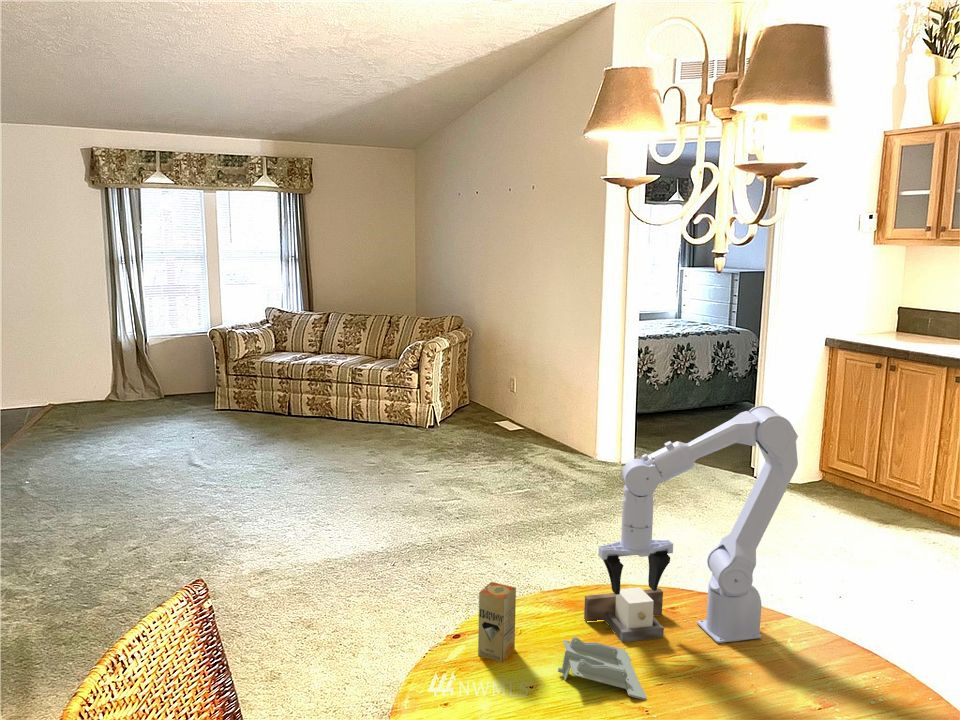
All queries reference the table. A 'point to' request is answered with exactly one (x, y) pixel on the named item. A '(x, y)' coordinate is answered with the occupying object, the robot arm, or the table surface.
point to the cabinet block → (634, 608)
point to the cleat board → (605, 610)
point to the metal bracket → (601, 665)
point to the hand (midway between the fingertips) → (634, 590)
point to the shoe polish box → (496, 621)
